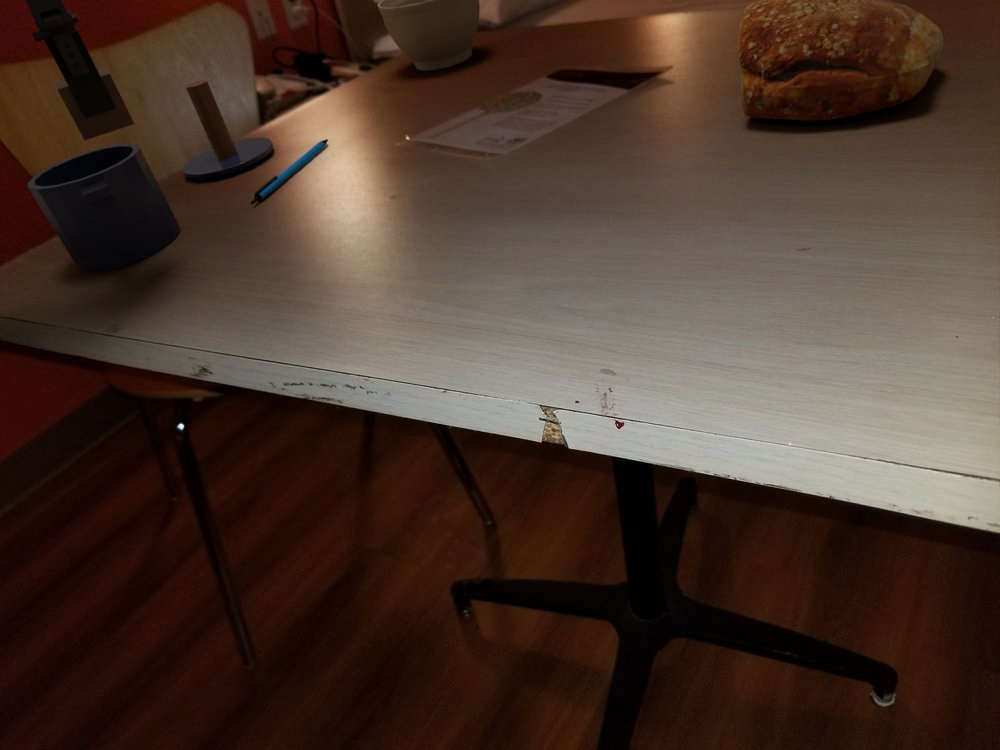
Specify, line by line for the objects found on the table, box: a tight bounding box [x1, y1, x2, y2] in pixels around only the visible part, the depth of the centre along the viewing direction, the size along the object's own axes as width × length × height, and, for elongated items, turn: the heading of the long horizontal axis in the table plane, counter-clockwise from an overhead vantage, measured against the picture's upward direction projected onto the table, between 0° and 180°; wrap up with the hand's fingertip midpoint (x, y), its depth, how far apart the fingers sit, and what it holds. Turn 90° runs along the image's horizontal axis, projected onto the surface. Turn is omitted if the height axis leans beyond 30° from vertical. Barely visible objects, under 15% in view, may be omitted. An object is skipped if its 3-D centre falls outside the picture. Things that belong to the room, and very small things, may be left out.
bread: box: [737, 0, 945, 122], centre depth 72 cm, size 20×18×10 cm
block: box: [54, 67, 135, 141], centre depth 66 cm, size 4×4×4 cm
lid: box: [181, 79, 274, 179], centre depth 96 cm, size 12×12×11 cm
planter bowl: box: [377, 0, 481, 72], centre depth 118 cm, size 16×16×11 cm
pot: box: [27, 143, 181, 273], centre depth 79 cm, size 11×17×10 cm
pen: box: [249, 138, 329, 205], centre depth 90 cm, size 1×19×1 cm, turn 163°
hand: (97, 107), depth 66 cm, fingers closed on block, 4 cm apart
